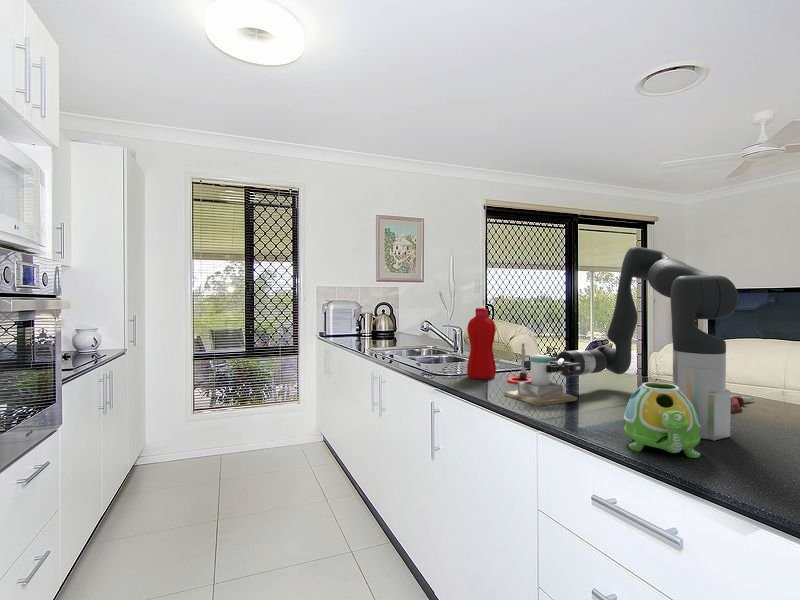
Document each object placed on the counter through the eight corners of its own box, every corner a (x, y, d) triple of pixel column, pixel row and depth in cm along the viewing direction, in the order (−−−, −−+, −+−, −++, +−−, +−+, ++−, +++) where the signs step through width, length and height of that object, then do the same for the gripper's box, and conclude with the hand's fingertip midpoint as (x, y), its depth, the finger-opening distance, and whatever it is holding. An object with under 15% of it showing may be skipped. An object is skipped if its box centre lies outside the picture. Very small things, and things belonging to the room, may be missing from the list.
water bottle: (493, 381, 147) (493, 308, 147) (464, 378, 153) (464, 307, 153) (502, 377, 154) (503, 308, 154) (474, 374, 160) (474, 307, 160)
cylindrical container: (554, 395, 122) (554, 356, 122) (540, 396, 119) (540, 357, 119) (540, 391, 126) (540, 354, 127) (526, 393, 124) (526, 355, 124)
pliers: (772, 406, 115) (772, 397, 115) (729, 415, 107) (729, 404, 107) (724, 398, 126) (724, 389, 126) (682, 405, 117) (681, 395, 117)
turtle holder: (634, 465, 73) (635, 395, 73) (619, 433, 90) (619, 377, 90) (721, 475, 69) (721, 401, 69) (687, 440, 86) (688, 381, 86)
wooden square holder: (577, 400, 120) (577, 386, 120) (539, 405, 113) (540, 390, 113) (539, 390, 132) (539, 377, 132) (504, 395, 126) (504, 381, 126)
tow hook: (528, 386, 141) (536, 380, 149) (528, 347, 140) (536, 343, 148) (503, 384, 145) (512, 378, 153) (503, 346, 145) (512, 342, 153)
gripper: (557, 348, 136) (518, 350, 128) (596, 353, 123) (555, 356, 116) (557, 371, 136) (517, 375, 128) (596, 379, 123) (554, 384, 116)
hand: (535, 366), depth 122 cm, fingers open, 8 cm apart
